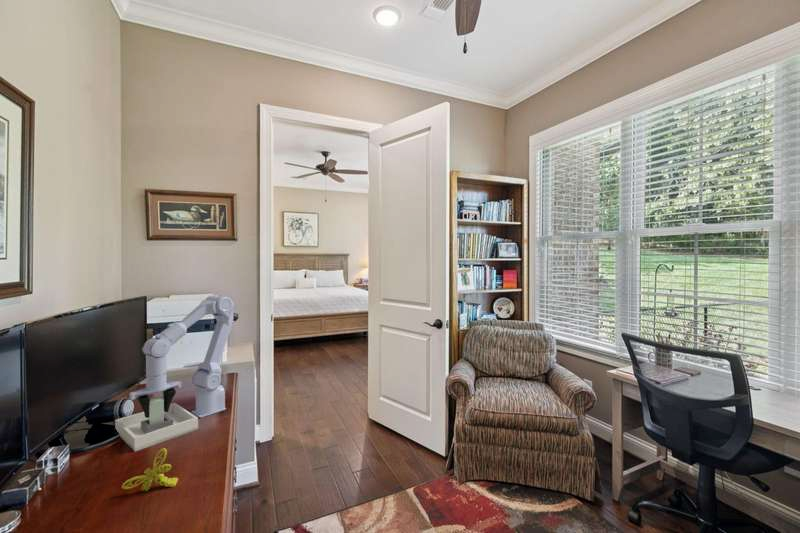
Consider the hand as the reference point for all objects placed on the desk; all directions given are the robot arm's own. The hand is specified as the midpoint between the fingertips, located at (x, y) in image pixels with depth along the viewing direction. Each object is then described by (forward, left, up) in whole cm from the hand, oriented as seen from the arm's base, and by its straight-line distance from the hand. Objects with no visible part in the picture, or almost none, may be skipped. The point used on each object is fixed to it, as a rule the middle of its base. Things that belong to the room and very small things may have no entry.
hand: (156, 414), depth 120 cm
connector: (0, 0, -3) cm, 3 cm away
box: (0, 0, -6) cm, 6 cm away
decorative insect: (+12, +34, -6) cm, 36 cm away
